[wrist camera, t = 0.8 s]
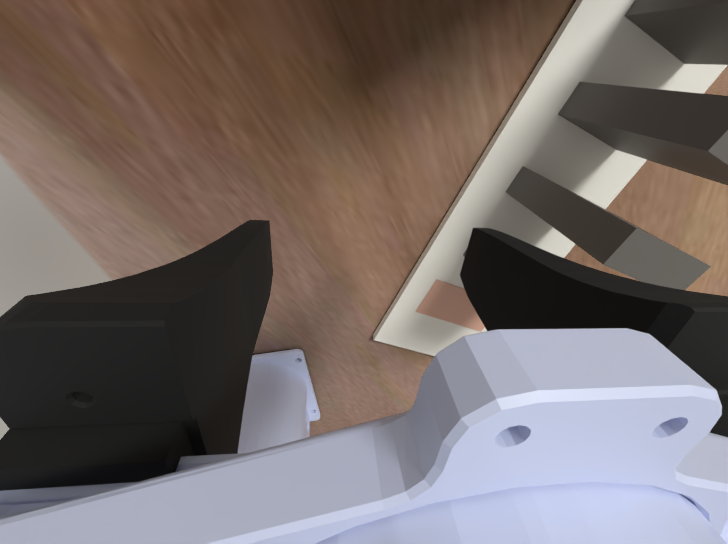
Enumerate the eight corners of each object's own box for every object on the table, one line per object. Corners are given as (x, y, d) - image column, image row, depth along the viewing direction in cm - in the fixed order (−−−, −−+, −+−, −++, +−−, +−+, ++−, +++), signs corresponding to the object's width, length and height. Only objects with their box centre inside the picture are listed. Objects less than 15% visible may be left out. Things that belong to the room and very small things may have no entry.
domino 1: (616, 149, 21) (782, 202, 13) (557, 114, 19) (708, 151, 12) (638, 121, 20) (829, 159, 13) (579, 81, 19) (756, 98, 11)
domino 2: (561, 218, 23) (676, 297, 16) (505, 192, 22) (603, 264, 14) (579, 195, 22) (711, 266, 15) (522, 165, 21) (636, 228, 13)
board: (469, 361, 31) (472, 366, 30) (372, 335, 28) (373, 341, 27) (811, -48, 17) (828, -52, 16) (691, -191, 14) (708, -201, 13)
